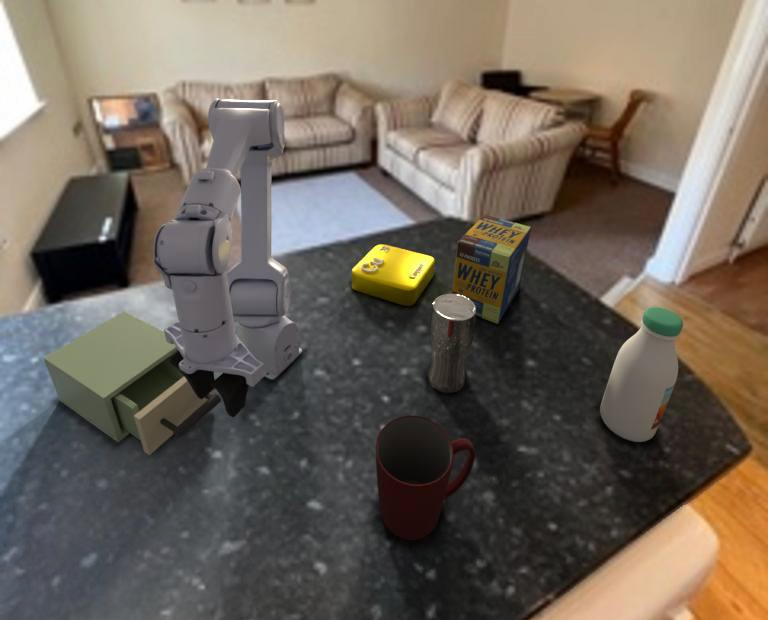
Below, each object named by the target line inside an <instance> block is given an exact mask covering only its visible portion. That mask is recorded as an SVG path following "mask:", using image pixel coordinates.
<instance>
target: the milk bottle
mask: <svg viewBox="0 0 768 620" xmlns="http://www.w3.org/2000/svg"><path fill="white" fill-rule="evenodd" d="M683 328H684V321H683V319H682V318H681V316H679V315H678V314H677V313H676V312H674V311H672V310H671V309H668V308H666V307H661V306H648V307H647V308H646V309H645V310H644V311H643V314H642V319H641V321H640V328H639V330H637V331H636V333H635V334H633V335H632V336H631V337H630V338H628V339H627V340H626V341H625V342H624V343H623V344H622V346H621V347H620V348H619V350H618V352H617V354H616V357H615V360H614V363H613V366H612V368H611V371H610V374H609V377H608V380H607V383H606V387H605V390H604V392H603V396H602V399H601V402H600V406H599V414H600V417H601V419H602V422H603V423H604V424H605V426H606V427H607V428H608V429H609V430H610V431H611V432H612V433H614V434H615V435H617V436H618V437H620V438H622V439H624V440H627V441H630V442H635V443H643V442H646V441H649V440H651V439H653V437H654V436H655V435H656V433H657V431H658V428H659V426H660V423H661V421H662V419H663V416H664V413H665V411H666V409H667V407H668V404H669V401H670V399H671V396H672V393H673V391H674V388H675V384H676V382H677V379H678V376H679V375H678V374H679V360H678V355H677V351H676V340H678V339H679V337H680V334H681V332H682V331H683Z"/></svg>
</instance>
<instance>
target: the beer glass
mask: <svg viewBox="0 0 768 620" xmlns="http://www.w3.org/2000/svg"><path fill="white" fill-rule="evenodd" d="M476 317H477V316H476V306H475V304H474V303H473V302H472V301H471V300H470V299H468V298H467V297H464V296H462V295H458V294H452V293H445V294H442V295H439V296H438V297H436V298H435V299H434V301H433V303H432V310H431V314H430V322H429V323H430V324H429V343H430V352H431V357H432V358H431V365H430V368H429V371H428V375H427V379H428V382H429V384H430V386H431V387H432V388H433V389H435V390H437V391H438V392H441V393H444V394H453V393H456V392H458V391H460V390H462V389H463V387H464V385H465V382H466V375H465V364H466V361H467V358H468V356H469V353H470V350H471V348H472V344H473V342H474V336H475V330H476Z"/></svg>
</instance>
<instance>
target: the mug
mask: <svg viewBox="0 0 768 620" xmlns="http://www.w3.org/2000/svg"><path fill="white" fill-rule="evenodd" d="M463 451H467V455H466V459H465V461H464V463H463V465H462V467H461V469H460V470H459V471H458V473H457V474H456V476H455V477H454V478H453V479H452V480H451V481H450V477H451V473H452V468H453V464H454V463H453V462H454V456H455V455H456V454H458V453H460V452H463ZM475 459H476V450H475V448H474V445H473V443H472V441H471V440H470V439H468V438H466V437H465V438H464V437H463V438H461V437H460V438H457V439H455V440H453V441H452V440H451V438H450V436H449V435H448V433H447V432H446V431H445V429H444V428H443V427H442V426H441V425H440V424H438V423H437V422H435V421H434V420H432V419H430V418H427V417H424V416H421V415H403V416H399V417H396V418H394V419H391V421H388V422H387V423H386V424H385V425H384V426H383V427H382V428H381V430H380V432H379V433H378V435H377V438H376V442H375V472H376V482H377V495H378V502H379V503H378V505H379V512H380V516H381V519H382V520H381V521H383V524H384V525H385V527H386V528H387V529H388V531H389V532H390V533H392V534H393V535H394V536H396V537H398V538H400V539H403V540H406V541H416V540H421V539H423V538H425V537H427V536H428V535H430V534H431V533H432V532H433V531H434V530H435V528H436V526H437V524H438V522H439V519H440V516H441V512H442V508H443V505H444V501H445V500H446V499H448V498H449V497H451V496H453V495H454V494H455V493H456V492H458V490H459V489H460V488H461V487H463V485H464V484H465V482H466V480H468V477H469V476H470V474H471V472H472V469H473V467H474V464H475Z"/></svg>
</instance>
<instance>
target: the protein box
mask: <svg viewBox="0 0 768 620" xmlns="http://www.w3.org/2000/svg"><path fill="white" fill-rule="evenodd" d="M531 230H532V227H531V226H529V225H524V224H521V223H518V222H514V221H511V220H506V219H504V218H499V217H496V216H492V215H489V214H484V215H483V216H481V218H479V220H477V221H476V222H475V224H474V225H473V226H472V227H471V228H470V229H469V230H468V231H467V232H466V233H465V234H464V235H463V236H462V237H461V238H460V239H459V240H458V241H457V244H456V254H455V263H454V271H453V279H452V280H453V282H452V291H451V294H458V295H462V296H464V297H467V298H468V299H470V300H471V301H472V302H473V303H474V304H475V306H476V317H478V318H481V319H484V320H486V321H488V322H491V323H494V324H496V325H497V324H499V323H500V321H501V319H502V318H503V316H504V314H505V313H506V311H507V309H508V308H509V306H510V305H511V303H512V301H513V300H514V298H515V296H516V295H517V293H518V292H519V290H520V287H521V282H522V277H523V272H524V266H525V262H526V258H527V257H526V256H527V253H528V252H527V251H528V246H529V240H530V236H531ZM519 285H520V286H519ZM515 292H516V293H515Z"/></svg>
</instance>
